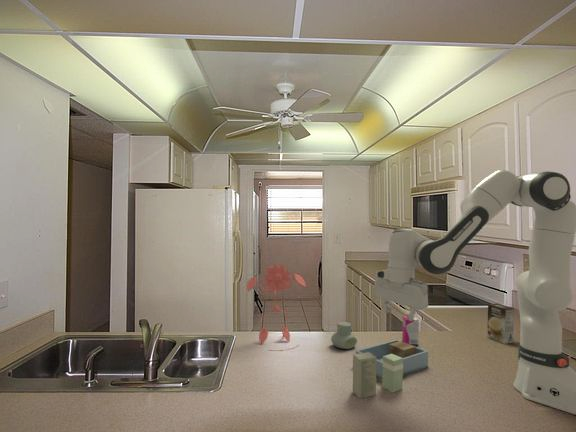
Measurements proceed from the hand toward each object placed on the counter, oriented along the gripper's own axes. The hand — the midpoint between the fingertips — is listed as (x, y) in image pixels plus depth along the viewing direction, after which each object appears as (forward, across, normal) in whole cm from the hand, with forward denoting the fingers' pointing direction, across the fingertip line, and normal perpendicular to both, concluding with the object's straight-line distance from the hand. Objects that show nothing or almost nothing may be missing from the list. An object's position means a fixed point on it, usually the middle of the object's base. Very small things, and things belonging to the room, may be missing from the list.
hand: (398, 316), depth 117 cm
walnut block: (+22, +9, -15) cm, 28 cm away
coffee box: (+21, +3, -77) cm, 80 cm away
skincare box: (+23, -1, +15) cm, 27 cm away
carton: (+22, -2, +4) cm, 23 cm away
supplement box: (+22, +21, -36) cm, 47 cm away
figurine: (+24, +49, +18) cm, 58 cm away
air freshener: (+23, +33, -6) cm, 41 cm away
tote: (+22, +9, -9) cm, 26 cm away
